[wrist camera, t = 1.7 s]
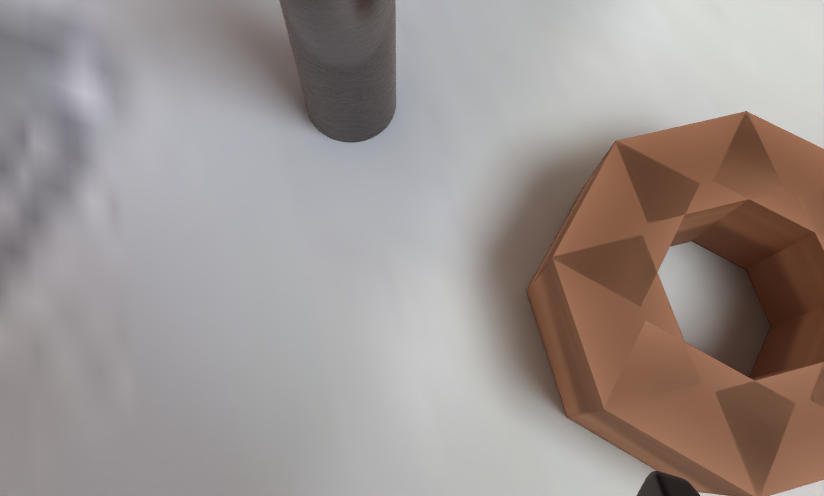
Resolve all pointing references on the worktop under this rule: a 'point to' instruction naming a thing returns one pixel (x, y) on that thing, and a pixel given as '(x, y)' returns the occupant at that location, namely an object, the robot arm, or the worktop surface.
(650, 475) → the robot arm
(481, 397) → the worktop surface
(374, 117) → the brushed steel cylinder
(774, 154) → the bead
